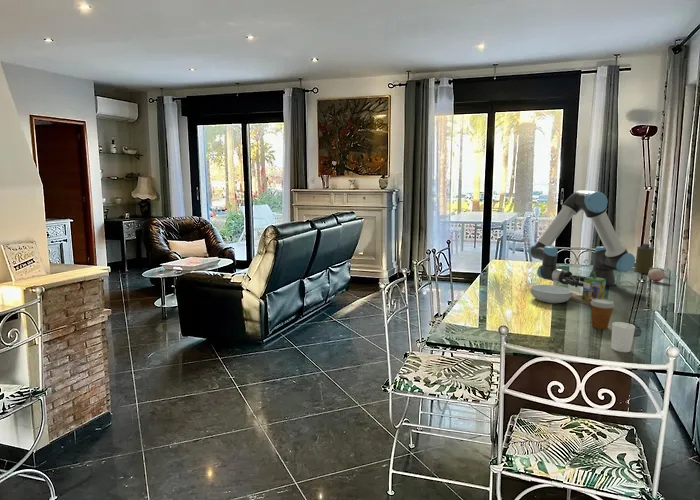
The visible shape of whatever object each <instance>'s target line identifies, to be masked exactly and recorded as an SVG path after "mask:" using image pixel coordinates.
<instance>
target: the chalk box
mask: <svg viewBox="0 0 700 500" xmlns="http://www.w3.org/2000/svg"><path fill="white" fill-rule="evenodd" d="M594 274H595V271H594V272H593V277H591V276H590V275H589V276H588V275H587V276H585V277H586V278H584V282H586V283H590V289H588V288H584V287H582V293H583V296H582V299H583V300H590V301H592V299H605V289H606V285H605V283H606V279H604V278H599V277H596V274H595V277H594Z"/></svg>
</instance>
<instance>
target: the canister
mask: <svg viewBox="0 0 700 500" xmlns="http://www.w3.org/2000/svg"><path fill="white" fill-rule="evenodd" d="M636 248H637V249H636V256H635V264H634V270H633V271H634V272H635V273H637V272H639V273H638V274H643V273H648V272H649V270H651V269H650V268H653V267H652V266H653V259H654V252H655V248H654V247H651V246H650V244H649V243H642V245H639V246H637V247H636Z"/></svg>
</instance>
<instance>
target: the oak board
mask: <svg viewBox="0 0 700 500" xmlns="http://www.w3.org/2000/svg"><path fill="white" fill-rule="evenodd" d="M572 291H573V293H572V296H571V298H570V299H569V301H573V302H577V303H580V304H584V305H587V306H591V301H590V300H583V299H582V296H583V292H580V291H576V290H572ZM605 299H606V300H608V299H607V298H605Z"/></svg>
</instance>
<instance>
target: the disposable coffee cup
mask: <svg viewBox="0 0 700 500" xmlns="http://www.w3.org/2000/svg"><path fill="white" fill-rule="evenodd" d="M606 299H607V298H604V299H592V301H591V305H590V306H591V308H590V309H591V326H592V327H593V328H595V329H599V330H607V329H608V328H609V325H610V324H609V323H610V319H611V317H612V316H611V315H612V313H613V310H614V309H613V308H614V307H615V304H614V301H613V300H610V299H607V300H606Z"/></svg>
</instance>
